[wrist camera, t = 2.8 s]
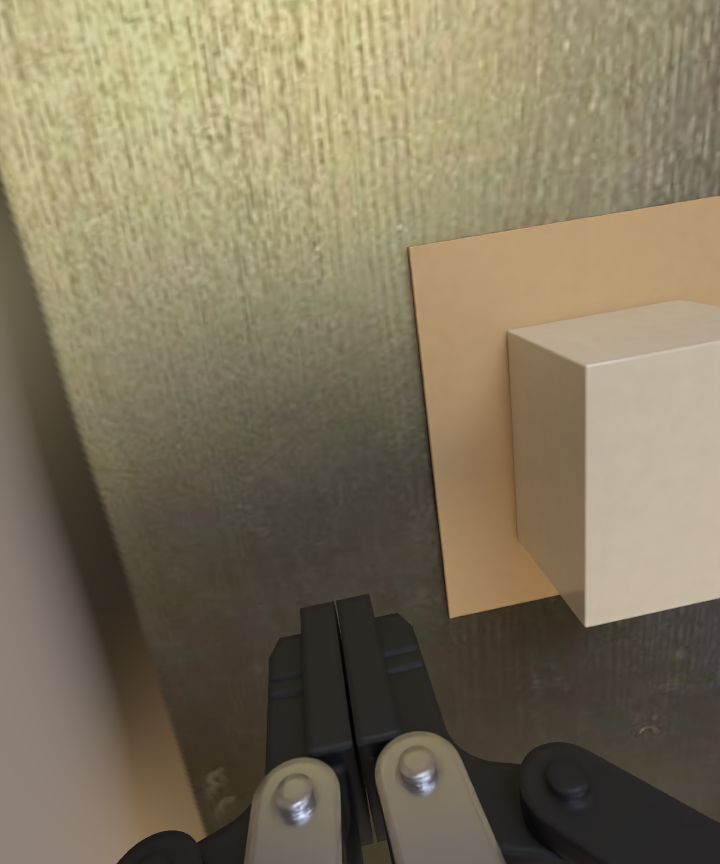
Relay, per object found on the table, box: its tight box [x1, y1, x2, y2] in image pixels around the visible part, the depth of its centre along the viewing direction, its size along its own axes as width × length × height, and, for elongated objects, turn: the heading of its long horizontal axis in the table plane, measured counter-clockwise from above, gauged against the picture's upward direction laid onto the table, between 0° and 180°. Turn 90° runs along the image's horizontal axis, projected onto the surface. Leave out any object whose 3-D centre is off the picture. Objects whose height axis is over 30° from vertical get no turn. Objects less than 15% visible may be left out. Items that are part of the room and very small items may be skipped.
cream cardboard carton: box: [507, 300, 720, 627], centre depth 17 cm, size 6×8×5 cm
